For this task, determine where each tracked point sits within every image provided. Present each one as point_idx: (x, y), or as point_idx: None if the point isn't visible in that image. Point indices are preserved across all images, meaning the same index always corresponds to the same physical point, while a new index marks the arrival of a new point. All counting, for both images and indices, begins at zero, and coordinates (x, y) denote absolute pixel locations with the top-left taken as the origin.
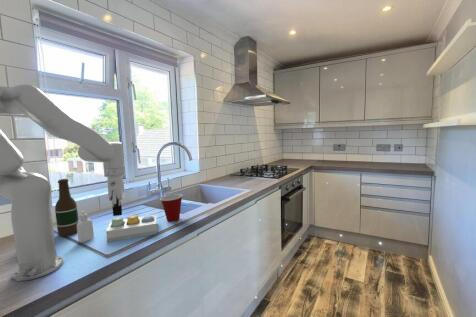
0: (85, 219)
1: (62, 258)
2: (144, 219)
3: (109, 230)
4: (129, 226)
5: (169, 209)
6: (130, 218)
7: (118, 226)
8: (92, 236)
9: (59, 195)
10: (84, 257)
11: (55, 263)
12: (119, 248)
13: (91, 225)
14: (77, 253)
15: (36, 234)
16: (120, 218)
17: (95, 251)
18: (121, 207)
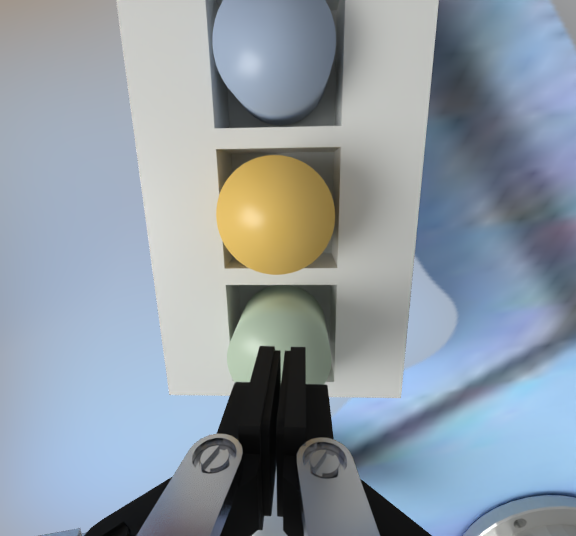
0: None
1: (529, 513)
2: (319, 84)
3: (398, 378)
4: (384, 235)
5: None
6: (314, 238)
7: (336, 325)
8: None
9: None
10: (527, 425)
11: (570, 526)
12: (521, 272)
13: (276, 507)
14: (455, 461)
15: None
16: (267, 336)
17: (482, 389)
18: (265, 397)
